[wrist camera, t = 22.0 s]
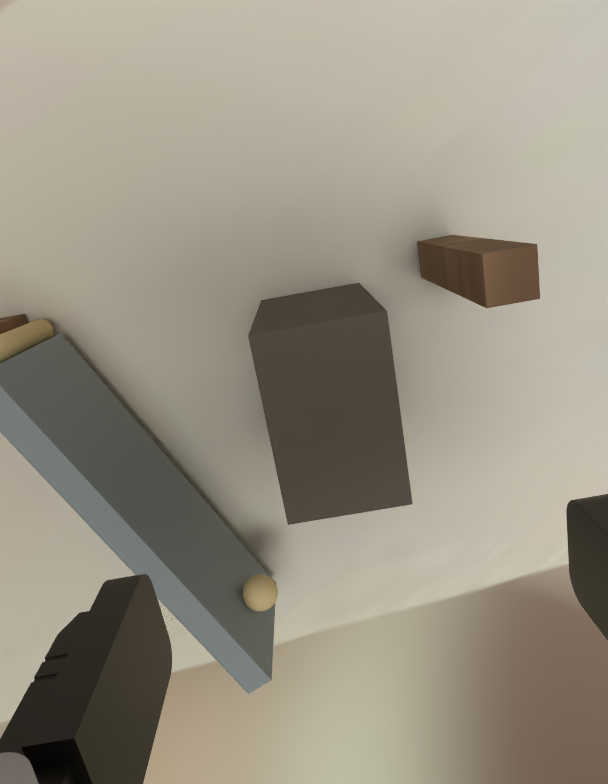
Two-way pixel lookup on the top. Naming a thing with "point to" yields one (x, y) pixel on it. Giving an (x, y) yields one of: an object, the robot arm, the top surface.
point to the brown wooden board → (460, 271)
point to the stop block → (331, 403)
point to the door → (136, 499)
